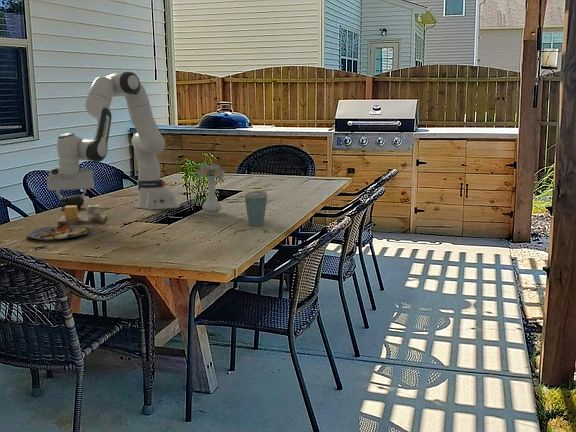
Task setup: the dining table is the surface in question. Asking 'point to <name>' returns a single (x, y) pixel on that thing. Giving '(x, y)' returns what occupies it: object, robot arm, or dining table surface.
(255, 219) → the disposable coffee cup
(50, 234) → the food plate
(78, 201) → the end cap
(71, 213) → the tan wooden cube
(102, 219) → the peg board
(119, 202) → the dining table surface
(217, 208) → the flower vase
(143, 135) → the robot arm
